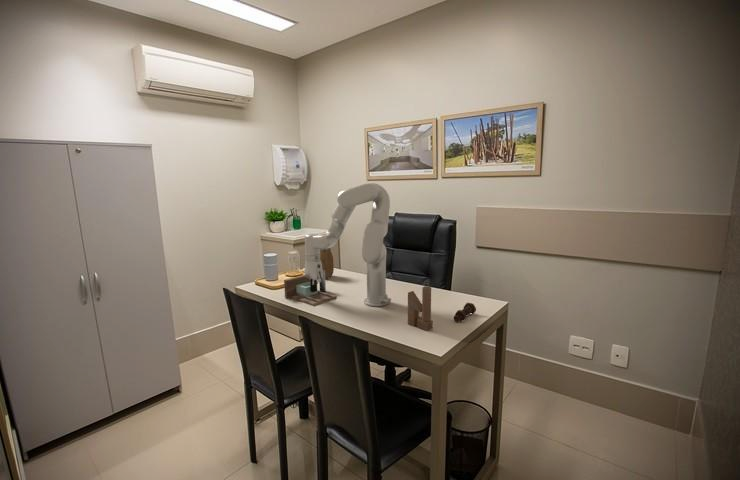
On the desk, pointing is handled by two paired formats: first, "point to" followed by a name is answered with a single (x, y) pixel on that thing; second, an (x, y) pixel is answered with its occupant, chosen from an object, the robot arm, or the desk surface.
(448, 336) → the desk surface
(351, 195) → the robot arm
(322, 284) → the peg
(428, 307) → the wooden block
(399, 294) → the desk surface
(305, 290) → the teal square socket
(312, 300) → the backstop board
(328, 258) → the brown tall rounded block
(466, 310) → the dumbbell
